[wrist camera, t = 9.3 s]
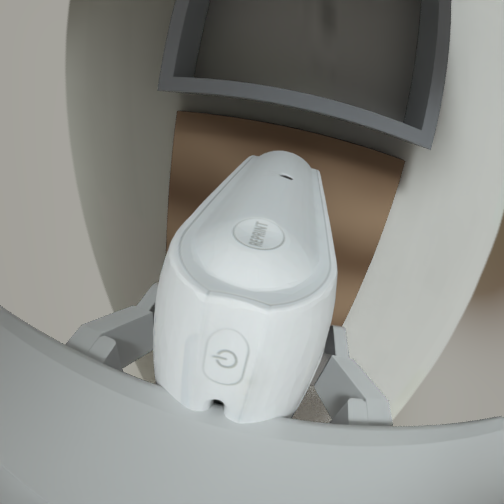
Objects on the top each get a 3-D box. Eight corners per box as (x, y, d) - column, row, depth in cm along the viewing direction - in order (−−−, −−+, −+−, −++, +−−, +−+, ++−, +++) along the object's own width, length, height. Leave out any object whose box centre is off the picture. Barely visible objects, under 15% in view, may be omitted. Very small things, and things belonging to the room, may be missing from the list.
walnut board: (181, 111, 16) (177, 111, 15) (401, 159, 15) (405, 161, 14) (168, 282, 22) (165, 286, 21) (340, 322, 21) (341, 327, 21)
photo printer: (246, 140, 14) (79, 282, 3) (328, 158, 14) (390, 360, 3) (224, 293, 19) (156, 465, 9) (285, 308, 19) (255, 491, 9)
